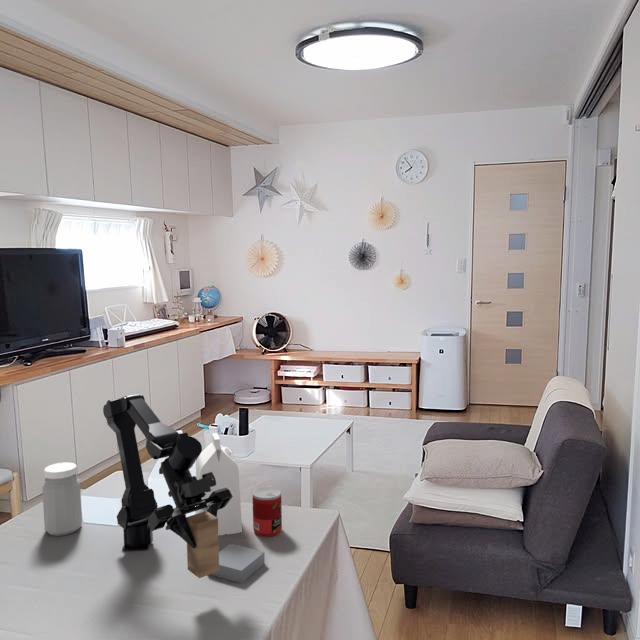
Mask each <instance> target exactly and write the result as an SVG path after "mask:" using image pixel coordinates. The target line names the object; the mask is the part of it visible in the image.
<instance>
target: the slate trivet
mask: <svg viewBox="0 0 640 640" xmlns="http://www.w3.org/2000/svg"><path fill="white" fill-rule="evenodd" d="M265 563H266V562H265V551H261V550H257V549H253V548H250V547H247V546H246V547H245V546H241V545H237V544H233V543H230V544H228V545H227V546H225V547H224V548H223V549H222V550H219V571H216V572H214V573H211V574H213V575H212V576H215V575H216V576H215V577H218V576H219V578H222V579H226V580H230V581H233V582H236V583H240V584H242V583H244V582H245V581H246V580H247V579H249V577H250V576H252V575H253V574H254V573H255V572H257V571H258V570H259V569H260V568H261V567H263V566H264V565H265ZM211 574H210V575H211Z"/></svg>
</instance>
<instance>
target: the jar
mask: <svg viewBox="0 0 640 640" xmlns="http://www.w3.org/2000/svg"><path fill="white" fill-rule="evenodd" d="M77 465H78V464H76V463H74V462H68V461H65V462H56V463H52V464H50V465H47V466H46V467H44V469H43V474H44V477H45V478H44V482H43V485H42V487H41V489H42V490H41V491H42V505H43V507H42V509H43V521H44V522H43V523H44V531H46V532H47V533H48V534H49V535H50V536H57V537H59V536H67V535H71V534H73V533H75V532H76V531H77V530H79V529H80V528H81V526H82V525H83V513H82V509H83V508H82V493H81V479H79V478H78V473H77V471H78V466H77Z"/></svg>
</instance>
